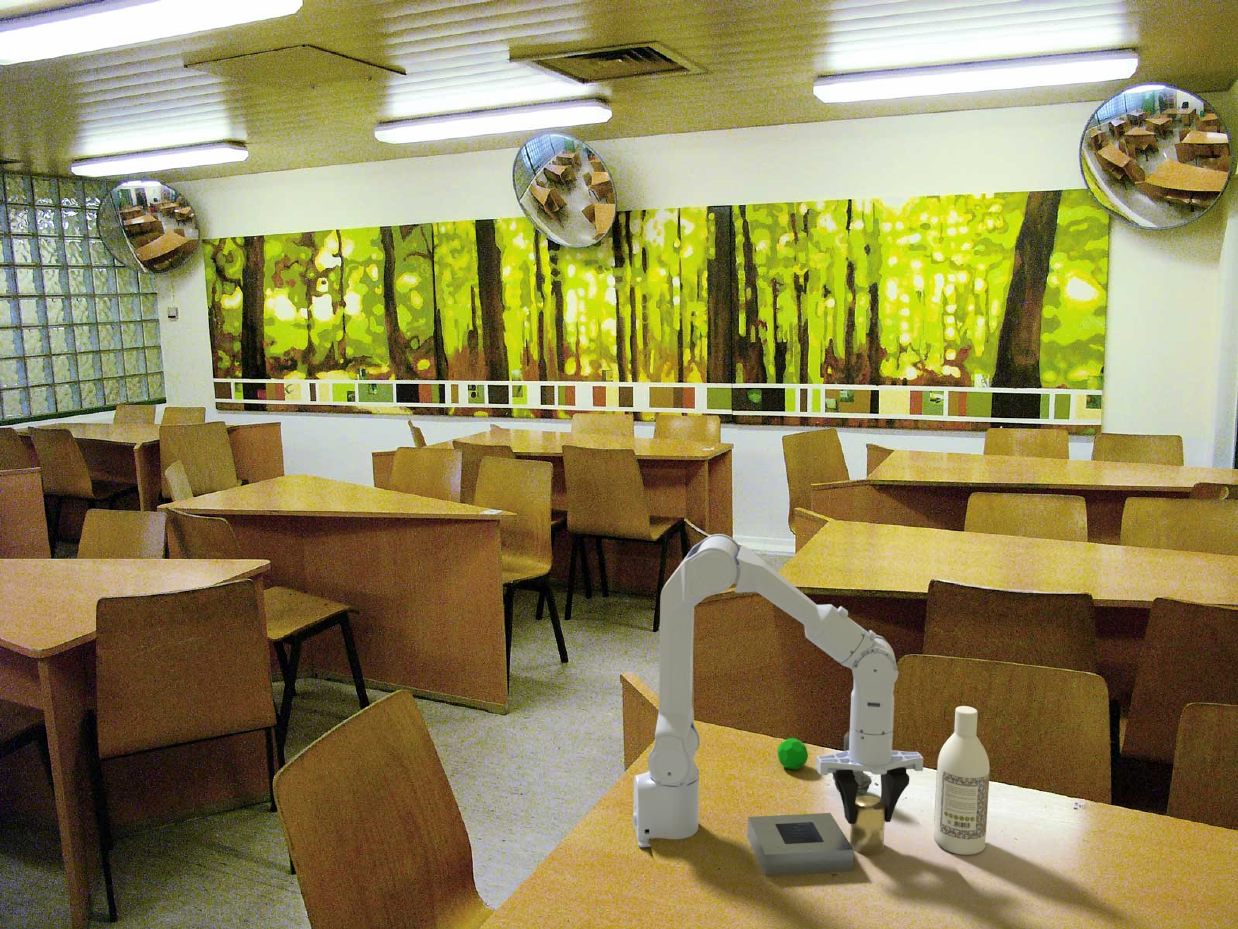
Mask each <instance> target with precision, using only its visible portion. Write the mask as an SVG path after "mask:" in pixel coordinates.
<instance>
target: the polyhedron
mask: <svg viewBox="0 0 1238 929" xmlns="http://www.w3.org/2000/svg"><path fill="white" fill-rule="evenodd" d="M776 753H777V757H778V760H779V763H780V764H781V765H782V766H783V767H784V768H786V769H788V770H792V771H793V770H799V769H800V768H802V767H804V766H805V765H806V763H807V761H808V758H809V754H808V749H807V746H806V745H805V743H803V741H801V740H799V739H798V738H792V737H790V738H787V739H785V740H783V741H782V742H781V743H779V745H778V747H777V752H776Z"/></svg>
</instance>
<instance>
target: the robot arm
mask: <svg viewBox="0 0 1238 929" xmlns="http://www.w3.org/2000/svg"><path fill="white" fill-rule="evenodd" d="M733 584H735V588H734V593H735V594H736V593H740V594H741V593H758V594H759V595H760V596H762V597H763V598H764V599H767V601H769V602H770V603H772V604H773V605H775V606H776V607H778V608H779V609H781V610H782V611H783V612H785V613H786V614H788V615H789V616H791V617H792V618H794V619H795V620H797V621H798V622H800V623H801V624H802V625H803V628H804V635H805V638H806V639H807V640H809V641H810V642H811V643H812V644H814V645H815V646H816V647H818V648H819V649H820V650H822V651H823V652H825V653H826V655H828V656H830V657H831V658H833V660H834V661H836V662H838V663H839V664H840V665H841V666H843V667H846V668H848V669H851V672H852V676H853V677H852V678H853V689H852V691H851V693H850V715H849V716H850V718H849V732H850V738H849V750H848V751H844V750H842V751H840V752H839V751H838V752H835V753H832V754H831V753H830V754H825V755H818V756H817V755H816V768H815V769H816V771H817V772H818V773H819V775H820V776H828V775H829V773H830V774H832V777H833V776H834V779H835V781H836V783H837V786H838V789H839V791H838V792H839V794H840V797H841V803H842V805H843V806H842V807H843V812H844V818H845V820H846V821H847V823H848V824H849V825H851V824H854V823H855V802H856V795H857V790H858V786H859V784H858V783H857V781H856V780H855V775H854V774H853V772H858V771H863V772H867V773H871V774H872V775H877V776H879V775H880V786H881V787H880V789H881V790H880V792H881V793H880V800H882V801H883V802H884V803H885V805H886V807H885V823H891V821H892V817H893V814H894V811H895V809H896V806H897V803H898V802H899V799H900V798H901V796H902V794H903V792H904V791H905V789H906V788H907V786H908V785H910V775H909V774H908V773H907V770H914V771H916V772H923V770H924V757H923V755H922V754H921V753H919V751H902V750H901V751H900V750H893V738H894V737H893V732H894V718H895V717H894V712H895V695H894V691H895V683H896V682H897V680H898V677H899V670H898V667H897V666H898V665H897V662H896V656H895V652H894V650H893V648H892V646H891V645H890V644H889V643H888V641H887V640H886V639H885V638H884V637H883V636H882V635H877V634H876V633H875V631H873V630H871V629H870V630H866V629H864V627H862V626H861V625H859V624H858V623H857V622H855V621H854V620H853V619H852V618H850V617H849V611H848V610H847V609H846V608H844V607H843V606H841V605H840V606H839V607H838V608H837V607H835V606H834V605H833V604H832V603H831V604H830V603H829V604H828V603H827V604H816V603H815V602H814V601H813V600H811V598H809V597H808V596H807V595H806V594H804V593H803V592H802V591H801V590H799V588H797V587H796V586H795V585H793V583H792V582H790V581H789V580H787V579H786V577H784V576H783V575H781V574H780V573H779V572H778V571H777V570H775V569H774V568H773V567H772V566H771V565H770V564H768V563H767V562H766V561H764V560H763V559H762V558H761V557H760V556H758V555H757V554H756V553H755V552H753V551H752V550H751V549H749V548H748V547H747V546H745V545H742V544H741V545H739V543H738V542H737V541H736V540H735V539H734V538H732V537H731V536H729V535H727V534H723V533H715V534H711V535H709V536H707V537H705V538H704V539H702V540H701V541H699V542H698V543H696V544H695V545H694V546H692V548H690V551H688V553H687V555H686V556H685V557H684V559H683V560H681V562H680V564H679V565H678V567H677V568H676V569H675V571H674V572H673V573H672V574H671V575H670V577H669V579H668V580H667V581H666V583H665V584H664V586H663V587H662V589H661V593H660V600H659V601H660V602H659V603H660V604H659V606H660V608H659V610H660V612H659V619H660V620H659V657H658V658H659V660H658V662H659V668H658V714H657V719H656V720H657V721H656V726H655V733H654V744H653V746H652V748H651V750H650V752H649V754H648V758H647V766H648V767H647V768H648V769H649V770H648V771H646V772H644V773H640V774H636V775H634V777H633V813H632V825H633V827H634V831H635V835H636V840H637V843H638V847H639V848H652V847H651V841H650V839H664V840H665V839H667V840H682V839H683V840H684V839H687V838H690V837H692V836H695V834H696V833H697V832H698V831H699V817H700V816H699V815H700V814H699V813H700V812H699V808H700V807H699V805H700V803H699V802H700V801H699V798H700V797H699V796H700V770H699V768H698V767H697V764H696V763H695V757H696V753H697V751H698V749H699V747H700V741H701V739H700V734H699V731H698V729H697V728H696V725H695V720H694V710H693V683H694V680H693V678H694V677H693V675H694V673H693V672H694V640H695V639H694V637H695V634H694V633H695V630H694V628H695V626H694V625H695V624H694V623H695V606H697V605H698V604H699V603H701V602H702V601H703V600H704V599H706V598H707V597H710V596H713V595H718V594H720V593H723V592H725V591H726V590H728V589H729V588H730V587H732V585H733ZM835 781H834V782H835ZM647 830H648V831H647Z"/></svg>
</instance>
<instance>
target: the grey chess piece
mask: <svg viewBox="0 0 1238 929" xmlns="http://www.w3.org/2000/svg"><path fill="white" fill-rule="evenodd" d="M849 738H850V731H847V732H846V733H845V734H844V737H843V751H848V750H849ZM853 774H854V775H855V780H856V781H857V783H858V784H859V786H858V790H857V795H856V797H857V796H865V794H867V792H868V791H869V789H870V786H871V784H872V777H870V776H869V775H868V774H867V773H866V772H864V771H858V772H853ZM832 779H833V781H834V785H835V788H836V790H837V791H838V792H839V789H838V786H837V783H836V781H835V779H834V776H833V775H832Z"/></svg>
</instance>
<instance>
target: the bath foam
mask: <svg viewBox="0 0 1238 929" xmlns="http://www.w3.org/2000/svg"><path fill="white" fill-rule="evenodd" d="M954 712H955V713H954V732H953V733H952V734H951V736H950V737H949V738H948V739H947V740H946V741H945V743H944V744H943V746H942V747H941V748H940V750H939V751H940V752H939V754H938V757H937V765H936V781H935V782H936V784H935V785H936V786H935V804H934V821H933V824H934V825H933V826H934V828H933V839H934V841H935V843H936V844H937V845H938V846H939V847H940V848H942V849H943V850H945V851H947V852H949V853H952V854H957V855H961V856H967V855H969V856H972V855H976V854H979V853H981V852H982V851H984V848H985V847H986V837H987V836H986V835H987V826H988V825H987V824H988V823H987V822H988V808H989V807H988V805H989V791H990V790H989V789H990V788H989V787H990V772H991V769H990V760H989V756H988V754H987V751H986V749H985V747H984V746H983V744H982V743H981V741H980V739H979V738H978V736H977V728H978V717H979V715H978V714H979V713H978V710H977V709H976V708H974V707H971V706H968V705H961V706H957V707H956V708H955V711H954Z"/></svg>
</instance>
